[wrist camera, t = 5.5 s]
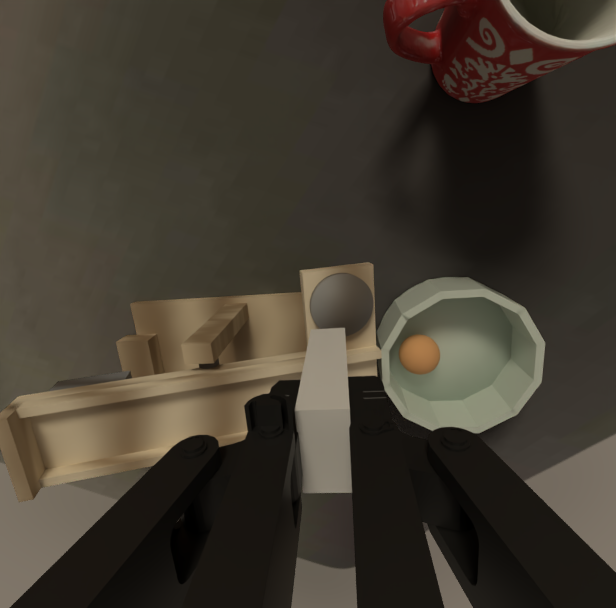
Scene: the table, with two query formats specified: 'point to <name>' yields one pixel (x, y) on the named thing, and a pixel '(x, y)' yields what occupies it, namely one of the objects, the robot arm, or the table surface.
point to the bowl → (461, 355)
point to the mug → (498, 40)
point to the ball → (419, 354)
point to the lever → (173, 397)
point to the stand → (211, 332)
